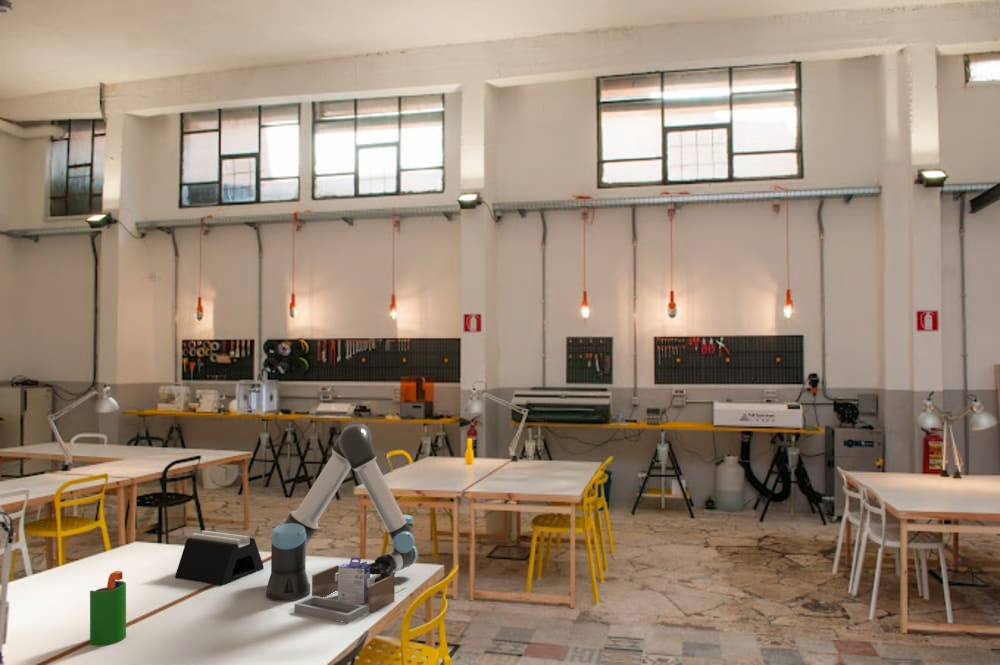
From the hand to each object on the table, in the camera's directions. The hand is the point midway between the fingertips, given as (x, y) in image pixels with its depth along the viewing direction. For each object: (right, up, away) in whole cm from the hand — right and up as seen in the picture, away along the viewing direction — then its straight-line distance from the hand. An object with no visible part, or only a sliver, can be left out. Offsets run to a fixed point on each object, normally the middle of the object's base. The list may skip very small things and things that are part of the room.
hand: (351, 580), depth 254 cm
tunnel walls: (0, -8, +1) cm, 8 cm away
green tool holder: (-66, -7, -32) cm, 74 cm away
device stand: (-57, -8, +32) cm, 66 cm away
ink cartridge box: (0, -8, +2) cm, 8 cm away
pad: (+7, -8, +14) cm, 18 cm away
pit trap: (-5, -7, -10) cm, 13 cm away
